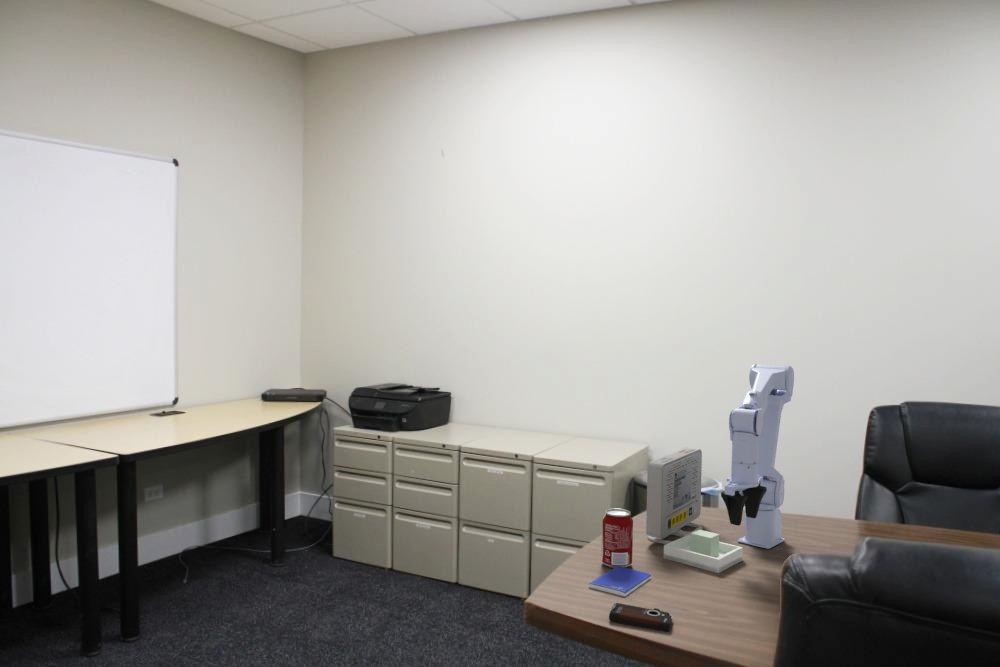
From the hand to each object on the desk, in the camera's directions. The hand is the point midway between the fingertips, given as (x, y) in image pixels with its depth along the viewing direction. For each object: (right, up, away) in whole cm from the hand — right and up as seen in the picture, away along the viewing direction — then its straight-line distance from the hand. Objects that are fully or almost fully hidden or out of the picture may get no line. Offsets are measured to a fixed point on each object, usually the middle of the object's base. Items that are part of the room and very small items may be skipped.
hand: (743, 520), depth 174 cm
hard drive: (-30, -11, -13) cm, 34 cm away
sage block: (-8, -8, +1) cm, 12 cm away
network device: (-11, -9, +21) cm, 25 cm away
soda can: (-29, -9, -3) cm, 31 cm away
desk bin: (-9, -9, +2) cm, 13 cm away
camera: (-29, -11, -32) cm, 44 cm away
